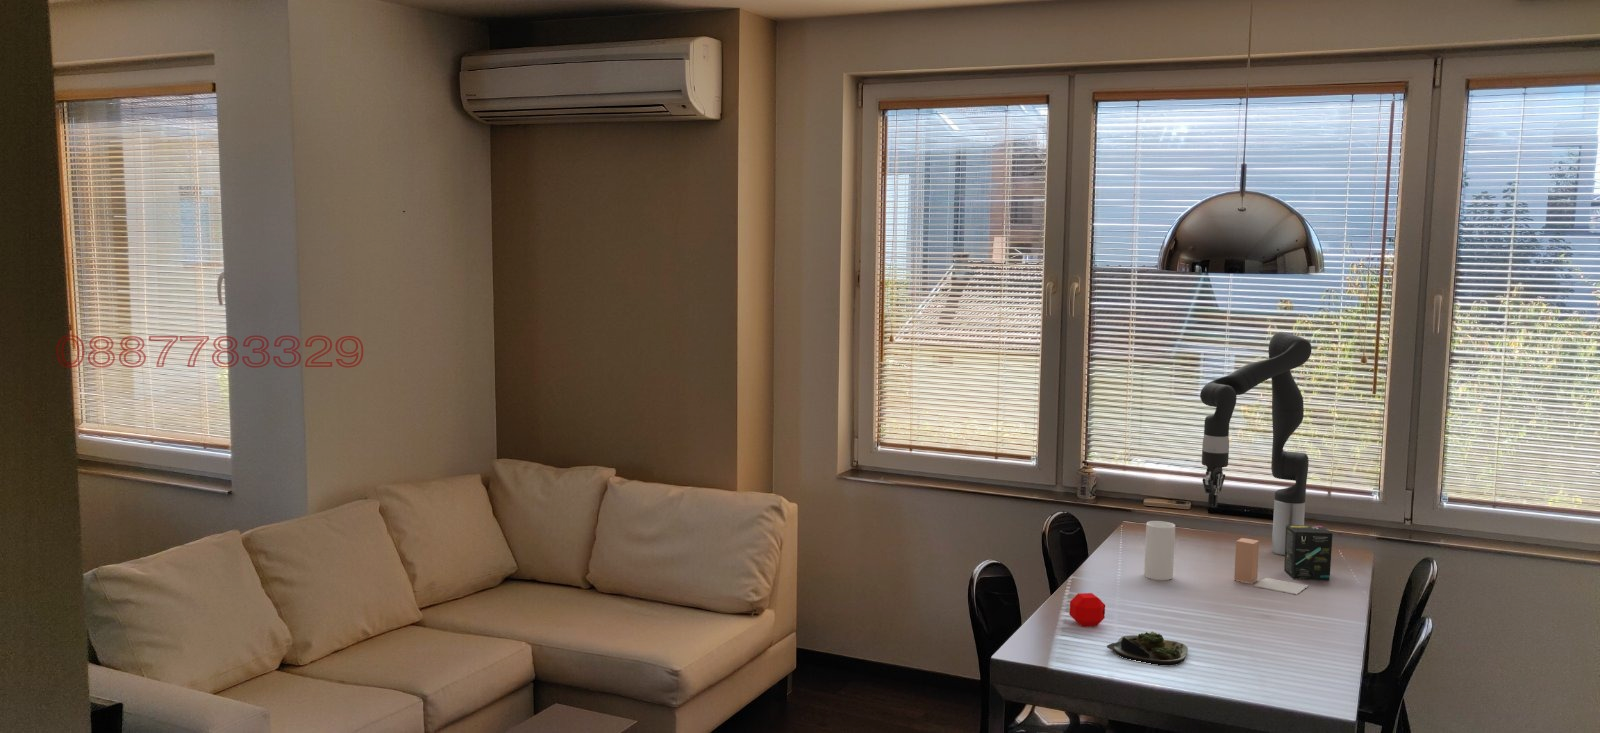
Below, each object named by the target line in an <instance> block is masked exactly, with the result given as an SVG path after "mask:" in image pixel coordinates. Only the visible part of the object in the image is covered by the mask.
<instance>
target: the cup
mask: <svg viewBox="0 0 1600 733" xmlns="http://www.w3.org/2000/svg"><path fill="white" fill-rule="evenodd" d="M1145 525H1146V526H1145V527H1146V528H1145V544H1144V545H1145V546H1144V547H1145V548H1144V552H1145V553H1144V568H1143V570H1144V572H1143V576H1144V577H1145V576H1146V577H1145V578H1147V577H1148V579H1150V578H1151V580H1154V579H1155V580H1156V581H1170V580H1169V579H1171V580H1173V578H1174V561H1175V560H1174V559H1175V544H1176V543H1175V538H1176V524H1175V523H1173V522H1169V521H1162V520H1149V521H1147V522H1146V524H1145Z"/></svg>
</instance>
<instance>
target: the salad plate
mask: <svg viewBox="0 0 1600 733" xmlns="http://www.w3.org/2000/svg"><path fill="white" fill-rule="evenodd" d="M1106 648H1107V649H1110V650H1111V651H1113V653H1115V654H1116V655H1117V656H1118V655H1119V656H1118V657H1120V656H1121V657H1120V658H1122V657H1123V658H1122V659H1124V658H1127V659H1131V660H1136V661H1141V662H1146V663H1151V664H1150V665H1152V664H1158V665H1157V666H1160V665H1173V666H1177V665H1179V664H1181V663H1183V662H1184V661H1186V656H1187V655H1188V651H1189V648H1188V646H1187V645H1186V644H1184V643H1181V642H1179V641H1177V640H1176V641H1175V640H1168V639H1164V637H1163V635H1162V634H1160V633H1157V632H1154V631H1151V632H1148V631H1146V632H1145V633H1143V632H1142V633H1139V634H1137V635H1136V634H1135V635H1134V634H1132V635H1130V634H1129V635H1123V636H1121V637H1120V638H1119V639H1118V640H1117V641H1116V642H1112V643H1109V644H1108V645H1106ZM1127 659H1126V660H1127ZM1131 660H1130V661H1131ZM1146 663H1145V664H1146ZM1176 664H1177V665H1176Z"/></svg>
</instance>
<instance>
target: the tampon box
mask: <svg viewBox="0 0 1600 733" xmlns="http://www.w3.org/2000/svg"><path fill="white" fill-rule="evenodd" d="M1332 550H1333V532H1331V531H1330V530H1329V529H1327V528H1325V526H1321V525H1304V526H1298V525H1286V538H1285V555H1284V562H1283V563H1284V566H1283V568H1284V573H1286V574H1287V575H1289V577H1291V578H1292V579H1293V580H1309V579H1313V580H1312V581H1315V580H1316V581H1317V580H1318V581H1330V580H1331V579H1330V578H1331V566H1332Z"/></svg>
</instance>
